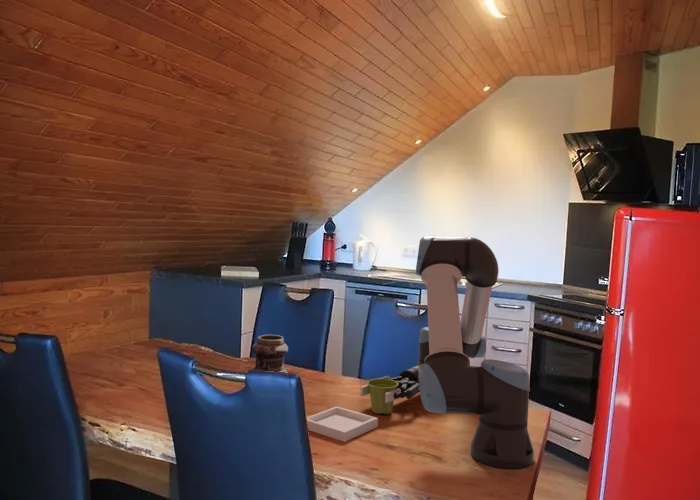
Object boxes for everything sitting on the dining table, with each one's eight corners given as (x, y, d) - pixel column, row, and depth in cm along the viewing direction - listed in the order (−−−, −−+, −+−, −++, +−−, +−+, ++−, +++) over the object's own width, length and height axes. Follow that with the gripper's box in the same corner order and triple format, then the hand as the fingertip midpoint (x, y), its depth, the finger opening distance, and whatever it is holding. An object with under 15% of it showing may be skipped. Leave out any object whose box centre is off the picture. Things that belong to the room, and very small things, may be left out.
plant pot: (403, 411, 175) (404, 383, 175) (383, 418, 168) (384, 389, 168) (380, 404, 182) (381, 376, 181) (360, 410, 175) (360, 382, 174)
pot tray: (377, 426, 163) (378, 417, 163) (344, 441, 151) (344, 432, 151) (336, 414, 172) (336, 406, 172) (301, 427, 160) (302, 419, 160)
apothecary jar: (276, 397, 187) (277, 342, 186) (243, 392, 191) (245, 338, 190) (293, 387, 198) (294, 335, 197) (262, 383, 202) (263, 332, 201)
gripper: (442, 397, 183) (403, 415, 165) (386, 384, 196) (345, 399, 178) (443, 374, 182) (404, 389, 164) (387, 362, 195) (345, 375, 177)
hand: (373, 394), depth 171 cm, fingers closed on plant pot, 8 cm apart
